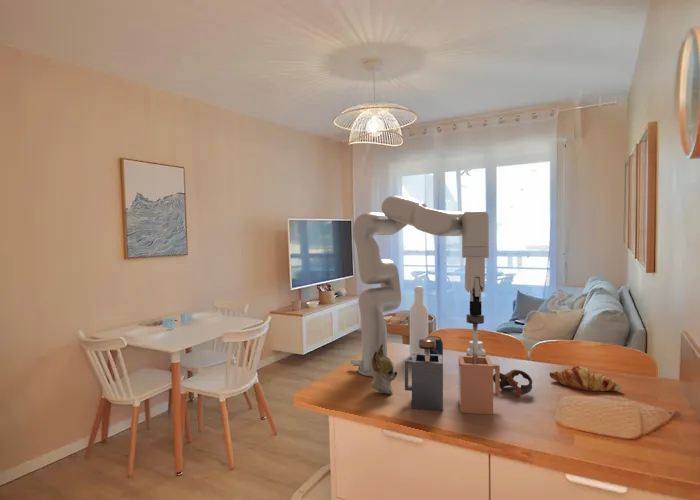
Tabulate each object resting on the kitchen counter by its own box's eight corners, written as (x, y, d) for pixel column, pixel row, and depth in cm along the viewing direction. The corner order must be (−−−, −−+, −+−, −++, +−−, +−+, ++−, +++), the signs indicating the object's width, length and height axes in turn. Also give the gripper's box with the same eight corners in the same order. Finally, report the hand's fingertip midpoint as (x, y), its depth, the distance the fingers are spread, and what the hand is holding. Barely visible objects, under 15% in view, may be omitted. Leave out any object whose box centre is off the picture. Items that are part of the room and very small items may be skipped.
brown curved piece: (524, 388, 140) (533, 371, 135) (527, 410, 132) (536, 393, 127) (488, 377, 141) (496, 360, 137) (489, 398, 133) (497, 381, 129)
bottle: (409, 354, 179) (409, 285, 178) (427, 354, 178) (427, 285, 177) (410, 359, 171) (409, 287, 170) (429, 360, 170) (429, 287, 169)
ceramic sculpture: (394, 401, 128) (393, 353, 128) (366, 398, 131) (366, 351, 130) (400, 388, 138) (399, 344, 138) (374, 386, 141) (374, 342, 140)
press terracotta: (460, 412, 120) (460, 364, 119) (458, 400, 128) (458, 355, 128) (501, 415, 117) (501, 366, 117) (496, 402, 126) (496, 357, 126)
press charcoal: (404, 408, 123) (403, 361, 122) (405, 396, 132) (405, 353, 131) (442, 410, 121) (442, 363, 120) (442, 399, 129) (442, 354, 129)
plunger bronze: (417, 402, 124) (417, 342, 123) (418, 395, 129) (417, 337, 129) (437, 404, 122) (437, 343, 122) (437, 396, 128) (436, 338, 128)
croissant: (620, 400, 136) (620, 375, 139) (622, 394, 128) (623, 369, 131) (549, 387, 147) (551, 364, 150) (547, 381, 139) (549, 358, 142)
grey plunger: (465, 378, 121) (465, 317, 120) (464, 372, 126) (464, 313, 126) (486, 380, 120) (486, 317, 119) (484, 373, 125) (484, 313, 125)
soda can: (422, 370, 157) (422, 339, 157) (426, 365, 163) (426, 335, 163) (441, 372, 154) (441, 340, 154) (444, 367, 161) (444, 336, 160)
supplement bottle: (483, 374, 152) (483, 339, 152) (487, 380, 145) (487, 344, 145) (465, 374, 153) (465, 339, 152) (468, 380, 146) (468, 344, 146)
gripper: (460, 252, 130) (460, 310, 130) (464, 253, 115) (464, 319, 116) (485, 251, 128) (485, 310, 129) (492, 253, 114) (492, 320, 114)
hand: (475, 314), depth 122 cm, fingers closed
